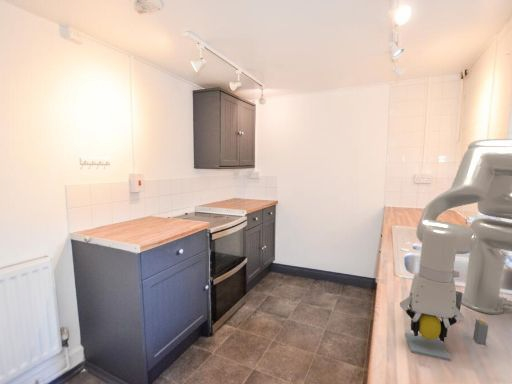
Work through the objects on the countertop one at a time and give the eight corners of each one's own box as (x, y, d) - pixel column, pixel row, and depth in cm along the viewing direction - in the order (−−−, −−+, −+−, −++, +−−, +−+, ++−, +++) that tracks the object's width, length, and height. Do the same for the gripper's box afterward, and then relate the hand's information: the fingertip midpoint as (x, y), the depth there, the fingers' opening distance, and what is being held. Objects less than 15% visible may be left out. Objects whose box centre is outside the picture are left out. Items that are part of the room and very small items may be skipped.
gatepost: (457, 317, 90) (461, 291, 89) (459, 320, 88) (463, 294, 87) (450, 316, 90) (453, 290, 89) (452, 319, 89) (456, 293, 87)
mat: (440, 341, 77) (440, 339, 77) (450, 360, 70) (450, 358, 70) (404, 334, 80) (405, 332, 80) (410, 351, 73) (411, 349, 72)
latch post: (481, 340, 78) (484, 318, 78) (485, 345, 76) (488, 323, 75) (473, 338, 79) (476, 316, 78) (476, 343, 77) (480, 321, 76)
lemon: (417, 330, 79) (420, 304, 78) (440, 339, 75) (443, 312, 74) (413, 340, 74) (417, 312, 73) (438, 349, 71) (441, 321, 70)
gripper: (467, 272, 73) (459, 334, 75) (397, 263, 79) (391, 321, 81) (480, 284, 66) (470, 352, 68) (402, 273, 71) (395, 336, 74)
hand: (427, 335), depth 75 cm, fingers closed on lemon, 5 cm apart
